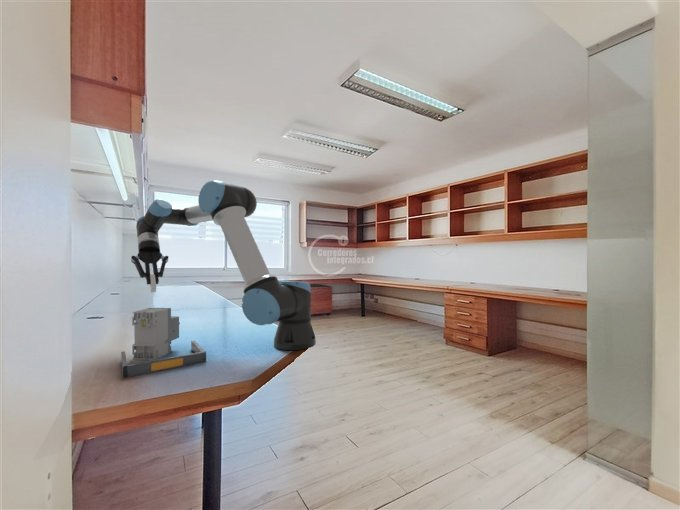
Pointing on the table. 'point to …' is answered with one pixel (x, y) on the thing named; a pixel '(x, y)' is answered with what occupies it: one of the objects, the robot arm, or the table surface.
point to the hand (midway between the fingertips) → (153, 289)
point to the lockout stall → (163, 362)
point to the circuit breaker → (154, 333)
